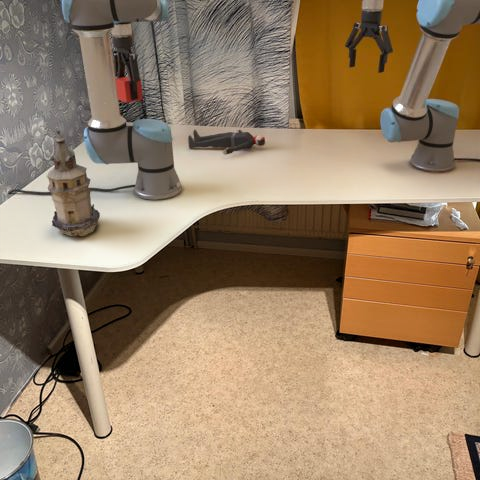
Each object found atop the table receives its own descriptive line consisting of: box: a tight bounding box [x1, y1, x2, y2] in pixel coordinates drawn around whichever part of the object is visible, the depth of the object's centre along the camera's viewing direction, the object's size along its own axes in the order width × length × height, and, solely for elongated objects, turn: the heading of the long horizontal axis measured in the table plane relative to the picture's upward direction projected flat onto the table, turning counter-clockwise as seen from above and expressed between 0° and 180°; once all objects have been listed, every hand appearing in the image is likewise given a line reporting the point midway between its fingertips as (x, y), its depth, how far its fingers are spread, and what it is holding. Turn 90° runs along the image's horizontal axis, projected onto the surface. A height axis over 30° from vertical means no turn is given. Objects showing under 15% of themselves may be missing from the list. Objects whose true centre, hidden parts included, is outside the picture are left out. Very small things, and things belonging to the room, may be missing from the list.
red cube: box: [116, 75, 143, 104], centre depth 209 cm, size 7×7×8 cm
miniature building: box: [46, 129, 101, 237], centre depth 148 cm, size 13×14×30 cm
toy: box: [187, 129, 266, 156], centre depth 213 cm, size 26×6×30 cm
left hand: (129, 97), depth 210 cm, fingers closed on red cube, 7 cm apart
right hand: (366, 69), depth 207 cm, fingers open, 13 cm apart
